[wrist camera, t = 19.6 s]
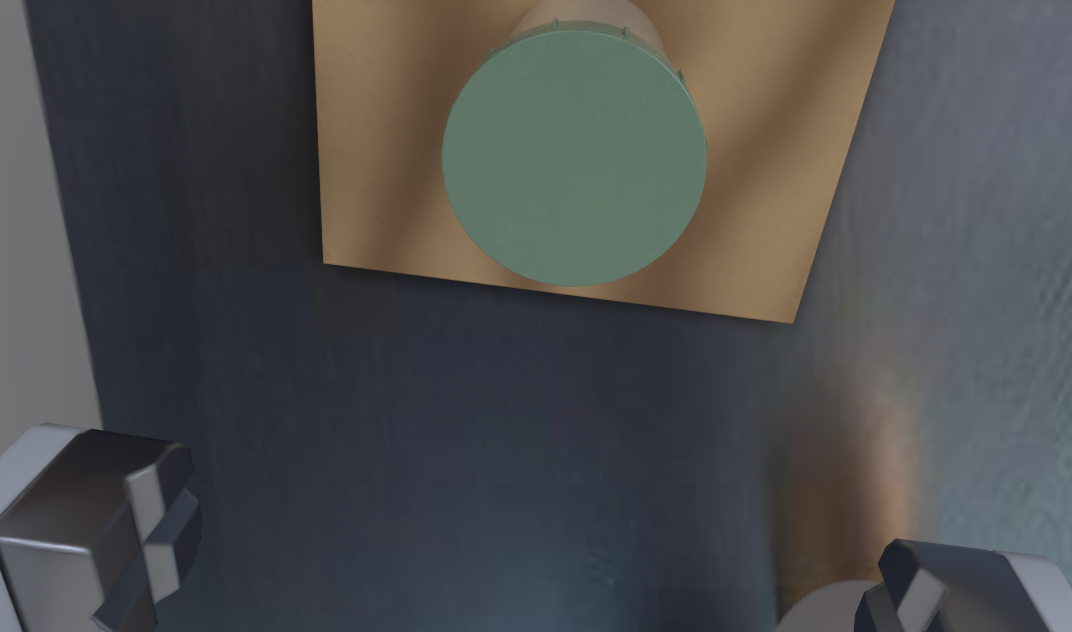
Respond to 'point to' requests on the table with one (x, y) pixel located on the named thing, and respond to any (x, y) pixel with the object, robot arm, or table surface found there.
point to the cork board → (716, 88)
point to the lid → (574, 154)
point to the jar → (593, 17)
